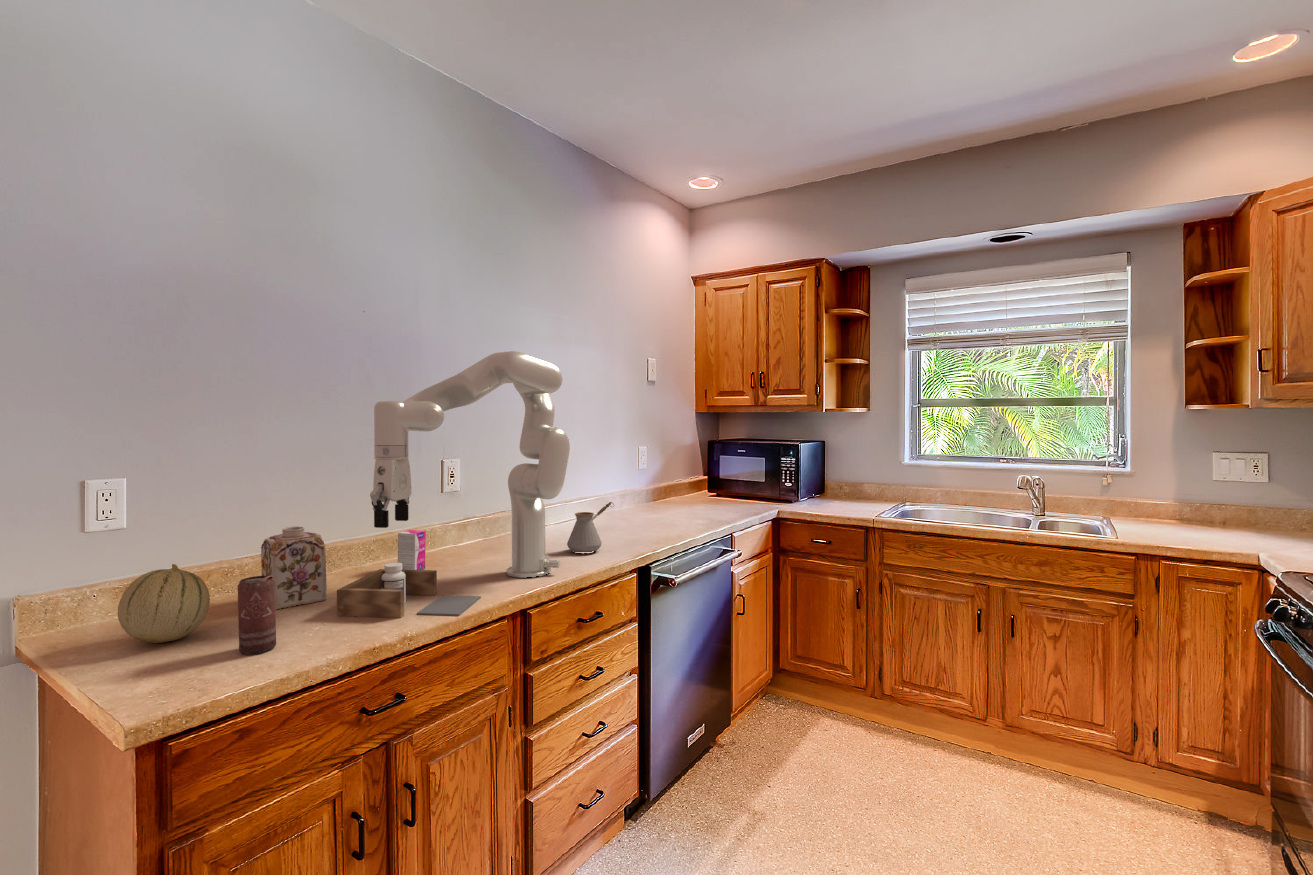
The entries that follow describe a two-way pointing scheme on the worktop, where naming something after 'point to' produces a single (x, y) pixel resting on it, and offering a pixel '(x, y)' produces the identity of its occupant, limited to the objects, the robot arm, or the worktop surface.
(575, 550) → the coffee pot
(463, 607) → the mat
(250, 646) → the can
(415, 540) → the supplement box
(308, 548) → the decorative jar
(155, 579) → the cantaloupe
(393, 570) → the pill bottle
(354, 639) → the worktop surface
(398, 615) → the open box
